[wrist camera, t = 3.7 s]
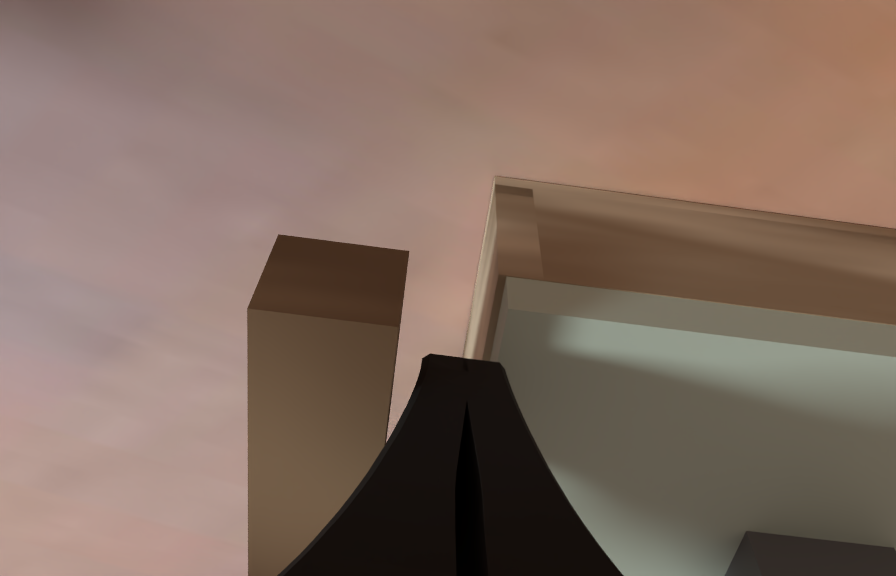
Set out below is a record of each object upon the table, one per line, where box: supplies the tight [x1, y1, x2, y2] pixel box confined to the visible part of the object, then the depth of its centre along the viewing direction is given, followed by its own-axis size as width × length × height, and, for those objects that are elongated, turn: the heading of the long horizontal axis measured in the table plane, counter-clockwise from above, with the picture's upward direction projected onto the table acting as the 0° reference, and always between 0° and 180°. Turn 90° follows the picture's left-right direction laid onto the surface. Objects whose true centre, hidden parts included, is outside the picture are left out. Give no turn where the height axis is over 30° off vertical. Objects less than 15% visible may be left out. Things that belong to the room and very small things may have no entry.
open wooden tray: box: [463, 176, 896, 361], centre depth 19 cm, size 12×12×4 cm
